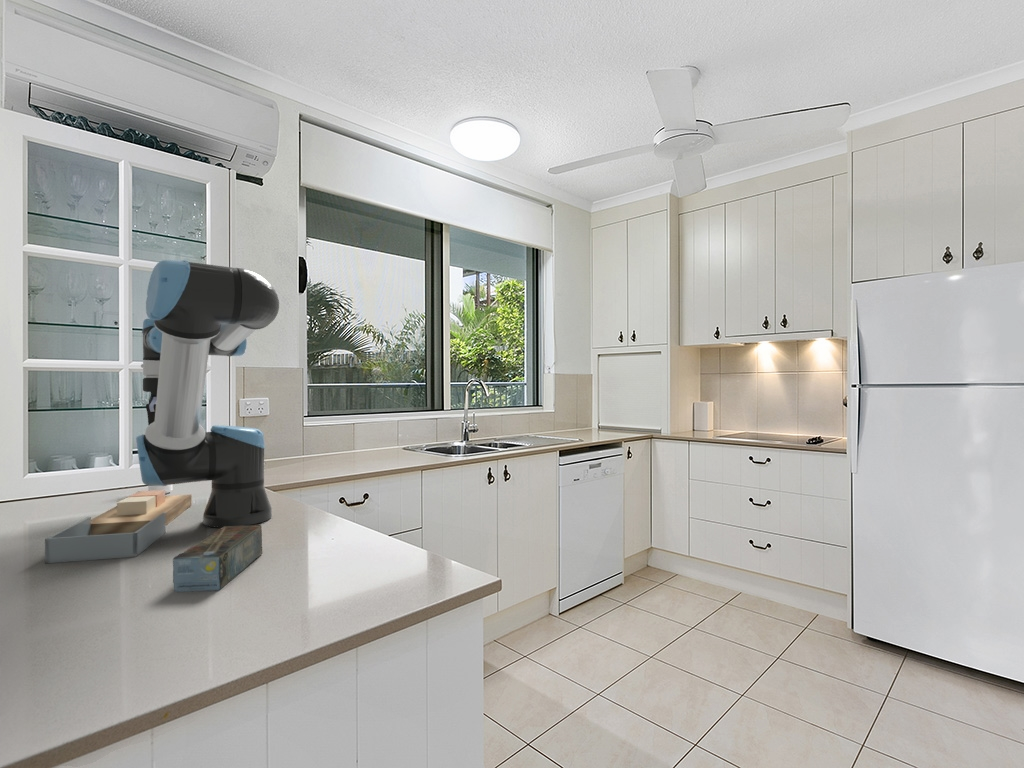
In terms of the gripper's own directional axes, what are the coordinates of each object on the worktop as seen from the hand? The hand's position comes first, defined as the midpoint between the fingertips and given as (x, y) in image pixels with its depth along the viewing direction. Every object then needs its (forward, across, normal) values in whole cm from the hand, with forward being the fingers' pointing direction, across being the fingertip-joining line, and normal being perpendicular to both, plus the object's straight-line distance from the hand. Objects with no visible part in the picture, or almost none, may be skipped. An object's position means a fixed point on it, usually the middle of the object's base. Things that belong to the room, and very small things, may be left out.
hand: (159, 464), depth 146 cm
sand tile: (+9, +16, 0) cm, 19 cm away
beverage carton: (+11, +57, +27) cm, 64 cm away
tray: (+11, +35, +2) cm, 37 cm away
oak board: (+12, +12, 0) cm, 17 cm away
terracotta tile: (+9, +9, 0) cm, 13 cm away
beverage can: (+12, -22, -6) cm, 26 cm away
